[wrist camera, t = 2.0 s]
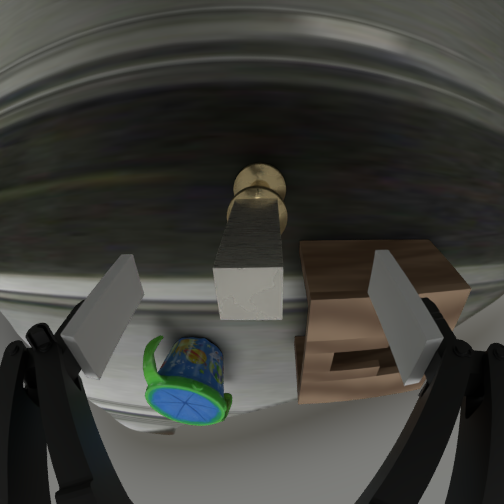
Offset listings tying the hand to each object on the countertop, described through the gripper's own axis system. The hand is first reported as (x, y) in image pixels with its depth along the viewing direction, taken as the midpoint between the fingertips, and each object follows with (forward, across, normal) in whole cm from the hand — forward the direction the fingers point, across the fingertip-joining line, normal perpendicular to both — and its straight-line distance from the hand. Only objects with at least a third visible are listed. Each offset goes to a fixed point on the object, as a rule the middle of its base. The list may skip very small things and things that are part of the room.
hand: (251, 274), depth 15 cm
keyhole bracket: (+15, +12, -14) cm, 23 cm away
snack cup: (+15, -10, -24) cm, 30 cm away
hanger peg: (+15, 0, 0) cm, 15 cm away
